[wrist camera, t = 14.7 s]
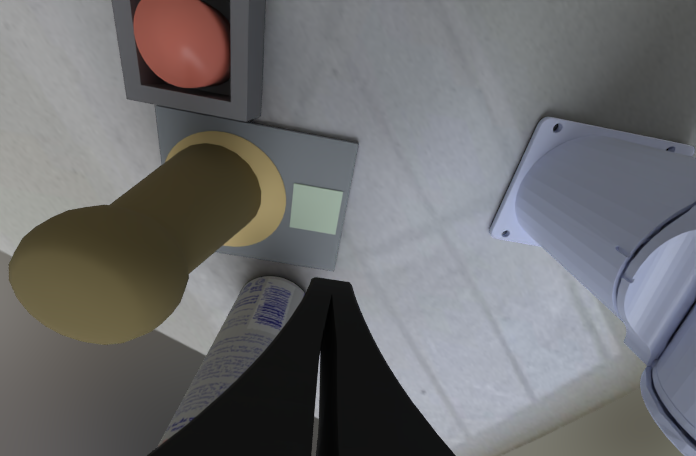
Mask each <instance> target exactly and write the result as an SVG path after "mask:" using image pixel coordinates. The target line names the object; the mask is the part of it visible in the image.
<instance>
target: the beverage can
mask: <svg viewBox="0 0 696 456" xmlns="http://www.w3.org/2000/svg"><path fill="white" fill-rule="evenodd" d="M304 295H305V293H304V292H303V291H302V289H301V288H300V287H298V286H297V285H296V284H294V283H293V282H291V281H289V280H286V279H284V278H280V277H274V276H265V277H259V278H256V279H253V280H251V281H250V282H248V283H247V284H246V285H245V286H244V287H243V288H242V290H241V292H240V294H239V296H238V298H237V300H236V301H235V303H234V305H233V307H232V309H231V311H230V313H229V314H228V316H227V318H226V320H225V322H224V324H223V326H222V327H221V329H220V331H219V333H218V335H217V337H216V339H215V341H214V342H213V344H212V346H211V348H210V350H209V352H208V354H207V355H206V357H205V359H204V361H203V363H202V365H201V367H200V368H199V371H198V372H197V374H196V376H195V378H194V380H193V381H192V384H191V385H190V387H189V389H188V391H187V393H186V395H185V397H184V398H183V400H182V402H181V404H180V406H179V408H178V409H177V411H176V413H175V415H174V417H173V419H172V421H171V422H170V424H169V426H168V428H167V430H166V432H165V434H164V435H163V437H162V440H161V441H160V443H159V445H158V447H159V446H160V445H161V444H162V443H164V442H165V441H166V440H168V439H169V438H170V437H171V436H173V435H174V434H175V433H177V432H178V431H179V430H180V429H182V428H183V427H184V426H185V425H187V424H188V423H189V422H190V421H191V420H193V419H194V418H195V417H196V416H197V415H198V414H199V413H201V412H202V411H203V410H204V409H205V408H206V407H207V406H209V405H210V404H211V403H212V402H213V401H214V400H215V399H217V398H218V397H219V396H220V395H221V394H222V393H223V392H224V391H225V390H227V389H228V388H229V387H230V386H231V385H232V384H233V383H234V382H235V381H236V380H237V379H238V378H239V377H240V376H241V375H242V374H243V373H244V372H245V371H246V370H247V369H248V368H249V367H250V366H251V365H252V364H253V363H254V362H255V360H256V359H257V358H258V357H259V356H260V355H261V354H262V353H263V352H264V350H265V349H266V348H267V347H268V346H269V345H270V343H271V342H272V341H273V340H274V339H275V337H276V336H277V335H278V333H279V332H280V331H281V329H282V328H283V327H284V326H285V324H286V323H287V322H288V320H289V319H290V317H291V316H292V314H293V313H294V311H295V310H296V308H297V307H298V305H299V304H300V302H301V300H302V299H303V297H304Z"/></svg>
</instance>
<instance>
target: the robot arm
mask: <svg viewBox="0 0 696 456" xmlns="http://www.w3.org/2000/svg"><path fill="white" fill-rule="evenodd" d="M556 124H558V129H557V130H556V131H554V132H553V127H554V126H555V125H556ZM667 148H669V149H668V151H666V149H667ZM694 152H695V148H694V147H693V146H691V145H687V144H682V143H677V142H672V141H667V140H662V139H658V138H653V137H648V136H643V135H638V134H633V133H628V132H623V131H618V130H613V129H608V128H603V127H598V126H594V125H589V124H584V123H579V122H574V121H569V120H564V119H559V118H554V117H545V118H543V119H541V120H540V121H539V123H538V125H537V127H536V129H535V131H534V133H533V136H532V138H531V140H530V142H529V144H528V147H527V149H526V151H525V153H524V155H523V157H522V160H521V162H520V164H519V166H518V168H517V171H516V173H515V175H514V177H513V179H512V182H511V184H510V186H509V188H508V190H507V192H506V195H505V197H504V199H503V201H502V203H501V206H500V208H499V210H498V212H497V214H496V217H495V219H494V221H493V223H492V225H491V227H490V230H489V233H490V235H491V236H492V237H493V238H495V239H501V240H506V241H512V242H518V243H524V244H529V245H535V246H541V247H542V248H543V249H544V250H546V251H547V252H548V253H549V254H550V255H551V256H552V257H553V258H554V259H555V260H556V261H557V262H559V263H560V264H561V265H562V266H563V267H564V268H565V269H566V270H567V271H568V272H569V273H570V274H572V275H573V276H574V277H575V278H576V279H577V280H578V281H579V282H580V283H581V284H582V285H583V286H584V287H586V288H587V289H588V290H589V291H590V292H591V293H592V294H593V295H594V296H595V297H596V298H597V299H599V300H600V301H601V302H602V303H603V304H604V305H605V306H606V307H607V308H608V309H609V310H610V311H612V312H613V313H614V314H615V315H616V316H617V317H618V318H619V319H620V320H621V321H622V322H623V323H624V324H625V326H626V329H627V333H626V337H625V339H624V343H625V344H626V345H627V346H628V347H629V348H630V349H631V350H632V351H633V352H634V353H635V354H636V355H637V356H638V357H639V358H640V359H641V360H642V361H643V362H644V363H645V364H646V365H647V367H646V368H645V370H644V371H643V373H642V376H641V382H640V387H641V394H642V397H643V400H644V402H645V405H646V407H647V409H648V411H649V412H650V414H651V416H652V418H653V419H654V421H655V422H656V423H657V425H658V426H659V427H660V429H661V430H662V431H663V433H664V434H665V435H666V437H667V438H668V439H669V440H670V441H671V442H672V443H673V444H674V445H675V447H676V448H677V449H678V450H679V451H680V452H681V453H682V454H683V455H684V456H696V158H695V157H692V156H693V154H694ZM504 231H507V232H506V233H505V234H502V233H503V232H504ZM320 351H321V354H320ZM319 355H320V399H319V429H318V440H317V450H316V456H455V454H454V453H453V452H452V451H451V450H450V448H449V447H448V446H447V445H446V444H445V443H444V441H443V440H442V439H441V438H440V437H439V435H438V434H437V433H436V432H435V431H434V429H433V428H432V427H431V425H430V424H429V423H428V421H427V420H426V419H425V418H424V416H423V415H422V414H421V412H420V411H419V410H418V408H417V407H416V406H415V405H414V403H413V402H412V401H411V399H410V398H409V396H408V395H407V393H406V392H405V391H404V389H403V388H402V386H401V385H400V383H399V382H398V380H397V379H396V377H395V376H394V374H393V372H392V371H391V369H390V368H389V366H388V364H387V363H386V361H385V359H384V357H383V356H382V354H381V352H380V350H379V348H378V347H377V345H376V343H375V341H374V339H373V337H372V335H371V333H370V331H369V329H368V326H367V324H366V322H365V320H364V318H363V315H362V313H361V311H360V308H359V305H358V303H357V300H356V297H355V294H354V291H353V288H352V285H351V284H350V282H344V281H337V280H331V279H324V278H317V277H314V278H313V279H311V282H310V285H309V287H308V289H307V291H306V293H305V295H304V297H303V299H302V300H301V302H300V304H299V305H298V307H297V308H296V310H295V311H294V313H293V314H292V316H291V317H290V319H289V320H288V322H287V323H286V324H285V326H284V327H283V328H282V329H281V331H280V332H279V333H278V335H277V336H276V337H275V339H274V340H273V341H272V342H271V343H270V345H269V346H268V347H267V348H266V349H265V350H264V352H263V353H262V354H261V355H260V356H259V357H258V358H257V359H256V360H255V362H254V363H253V364H252V365H251V366H250V367H249V368H248V369H247V370H246V371H245V372H244V373H243V374H242V375H241V376H240V377H239V378H238V379H237V380H236V381H235V382H234V383H233V384H232V385H231V386H230V387H229V388H228V389H227V390H225V391H224V392H223V393H222V394H221V395H220V396H219V397H218V398H217V399H215V400H214V401H213V402H212V403H211V404H210V405H209V406H207V407H206V408H205V409H204V410H203V411H202V412H201V413H199V414H198V415H197V416H196V417H195V418H194V419H193V420H191V421H190V422H189V423H188V424H187V425H185V426H184V427H183V428H182V429H180V430H179V431H178V432H177V433H175V434H174V435H173V436H171V437H170V438H169V439H168V440H166V441H165V442H164V443H162V444H161V445H160V446H159V447H157V448H156V449H155V450H153V451H152V452H151V453H150V454H149V455H147V456H311V451H312V437H313V423H314V411H315V398H316V387H317V375H318V364H319Z"/></svg>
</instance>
